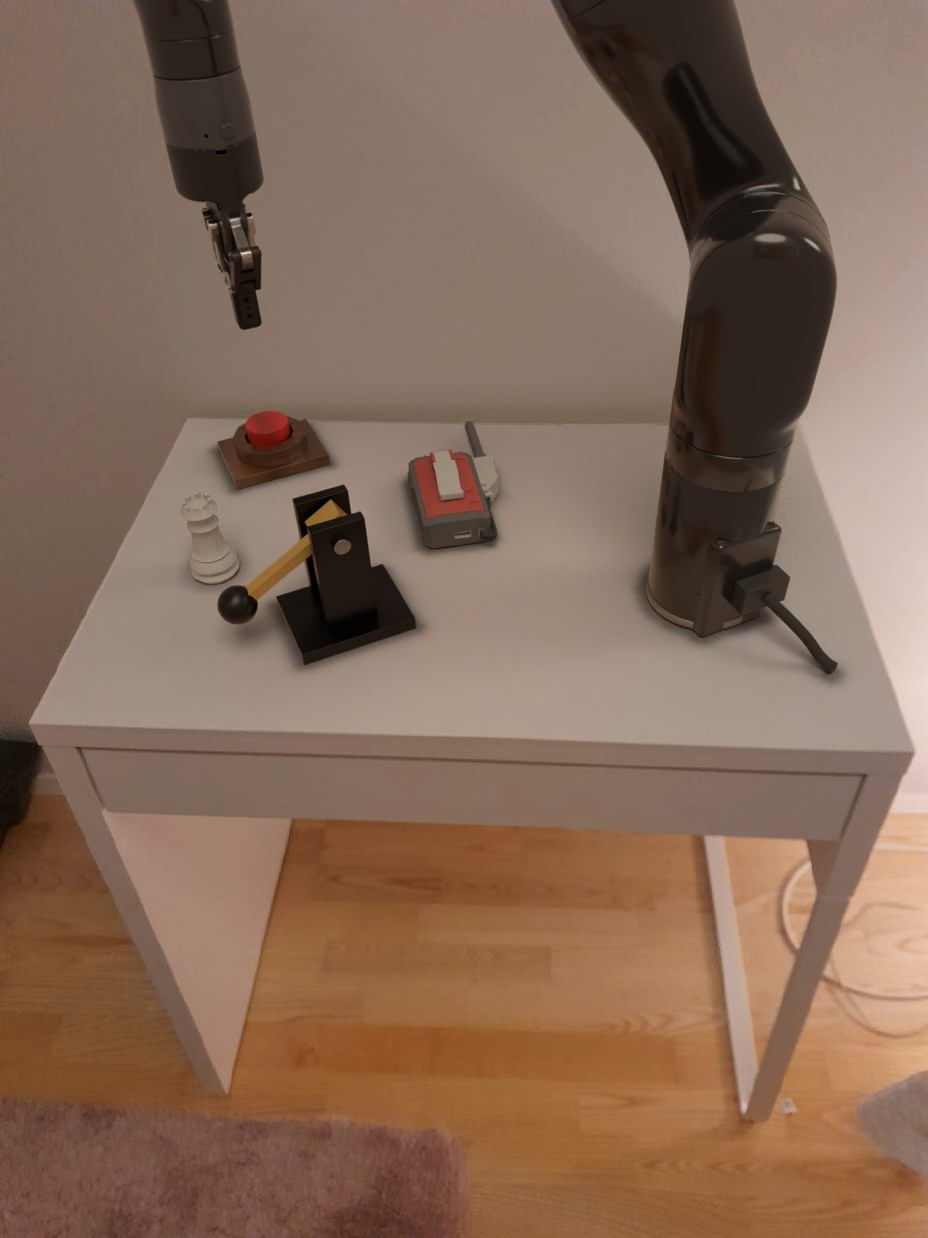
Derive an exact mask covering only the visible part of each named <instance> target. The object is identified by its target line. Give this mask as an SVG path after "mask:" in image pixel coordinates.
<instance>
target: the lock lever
mask: <svg viewBox="0 0 928 1238" xmlns="http://www.w3.org/2000/svg"><path fill="white" fill-rule="evenodd" d="M345 515H347V514H346V513H345V512H344V511H343V510H342V509H341V508H340V507H339V506H338V505H337V504H335V503H334V502H333V501H332V500H330V501H328V502H327V503H326V504H325V505H324V506H323V507H321V508H320V509H319V510H318V511H317V512H315V513H314V514H313V515H312V516H311V517H310V518H308V519H307V520H306V521H305V523H306V525H307V526H311V525H314V524H317V523H321V522H324V521H328V520H331V519H335V518H338V517H342V516H345ZM311 554H312V552H311V546H310V541H309V536H308V534H307V535H306V536H305V537H303V538H302V539H301V540H300V539H299V541H297V542H296V543H295V544H294V545H293V546H292V547H290V548H289V549H288V550H287V551H285V553H284V554H282V555H281V556H280V557H279V558H277V559H276V560H275V561H274V562H272V564H270V565H269V566H268V567H267V568H266V569H264V570H263V571H261V573H259V575H257V576H256V577H255V578H254V579H253V580H251V581H249V583H248V584H247V585H246V586H244V585H239V584H236V585H231V586H228V587H226V588H224V590H222V592H221V593H220V594H219V596H218V597H217V601H216V602H217V603H216V607H217V612H218V614H219V616H220V618H222V619H223V621H225V622H226V623H228V624H230V625H234V626H235V625H237V626H238V625H240V626H241V625H244V624H247V623H249V622H250V621H251V620H253V619H254V617H255V616H256V615H257V612H258V609H259V602H258V600H259V599H261V598H262V597H263V596H264V595H265V594H266V593H267V592H269V591H270V590H271V589H272V588H273V587H275V586H276V585H277V584H278V583H279V582H281V581H282V580H283V579H284V578H285V577H287V576H288V575H289V574H290V573H291V572H293V571H294V570H295V569H296V568H297V567H298V566H299V565H301V564H302V563H303V562H305V561H304V560H305V559H307V558H308V557H309V556H310V555H311Z"/></svg>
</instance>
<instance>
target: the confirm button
mask: <svg viewBox="0 0 928 1238" xmlns="http://www.w3.org/2000/svg"><path fill="white" fill-rule="evenodd" d="M287 416H288V415H287V414H285V413H283V412H280V411H277V410H264V411H261V412H257V413H254V414H252V415H251V416H250V417H248V418H247V419H246V421H245V422H244V423H245V427H246V431H247V436H248V440H249V442H250V443H251V444H252V445H254V446H256V447H271V446H275V445H279V444H282V443H283V442H285V441H286V440H288V439H289V438H290V434H291V433H290V428H289V423H288V418H287Z"/></svg>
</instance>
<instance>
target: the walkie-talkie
mask: <svg viewBox="0 0 928 1238" xmlns="http://www.w3.org/2000/svg"><path fill="white" fill-rule="evenodd" d="M464 430H465V432H466V435H467V440H468V441H469V445H470V448H471V451H472V454H473V455H472V454H470V453H468V452H465V451H454V452H453V450H452V449H447V450H440V451H432V452H429V455H423V456H417V457H415V458H412V459H411V460H410V461H409V462H408V464H407V465H408V470H407V480H408V485H410V487H409V488H410V493H411V496H412V498H413V501H414V506H415V510H416V515H417V518H418V524H419V528H420V532H421V535H422V541H423V545H424V546H426V547H428V548H430V549H441V548H446V547H455V546H462V545H467V544H468V545H469V544H477V543H483V542H494V541H496V539H497V537H498V529H497V525H496V522H495V520H494V516H493V514H492V509H491V505H493V501H494V499H495V498H496V497H497V495H498V494H499V491H500V490H499V489H500V488H499V487H500V486H499V475H498V473H497V469H496V467H495V459H494V457H493V455H487V454H485V453H484V449H483V447H482V443H481V440H480V438H479V435H478V432H477V430H476V427H475V424H474V422H473V421H471V420H467V421H466V422H465V423H464Z"/></svg>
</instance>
